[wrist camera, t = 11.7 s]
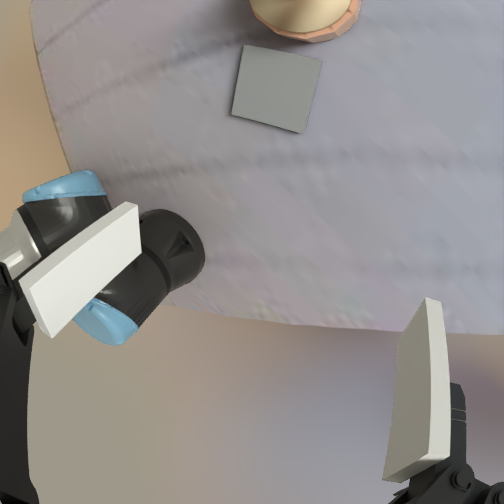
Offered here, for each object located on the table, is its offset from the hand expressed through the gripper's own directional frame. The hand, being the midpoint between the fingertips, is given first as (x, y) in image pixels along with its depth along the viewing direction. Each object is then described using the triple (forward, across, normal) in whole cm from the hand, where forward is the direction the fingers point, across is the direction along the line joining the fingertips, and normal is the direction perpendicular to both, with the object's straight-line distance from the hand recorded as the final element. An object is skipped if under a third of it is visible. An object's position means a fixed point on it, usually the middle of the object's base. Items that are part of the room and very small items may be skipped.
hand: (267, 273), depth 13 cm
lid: (+24, -7, +17) cm, 31 cm away
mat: (+30, -9, +4) cm, 32 cm away
